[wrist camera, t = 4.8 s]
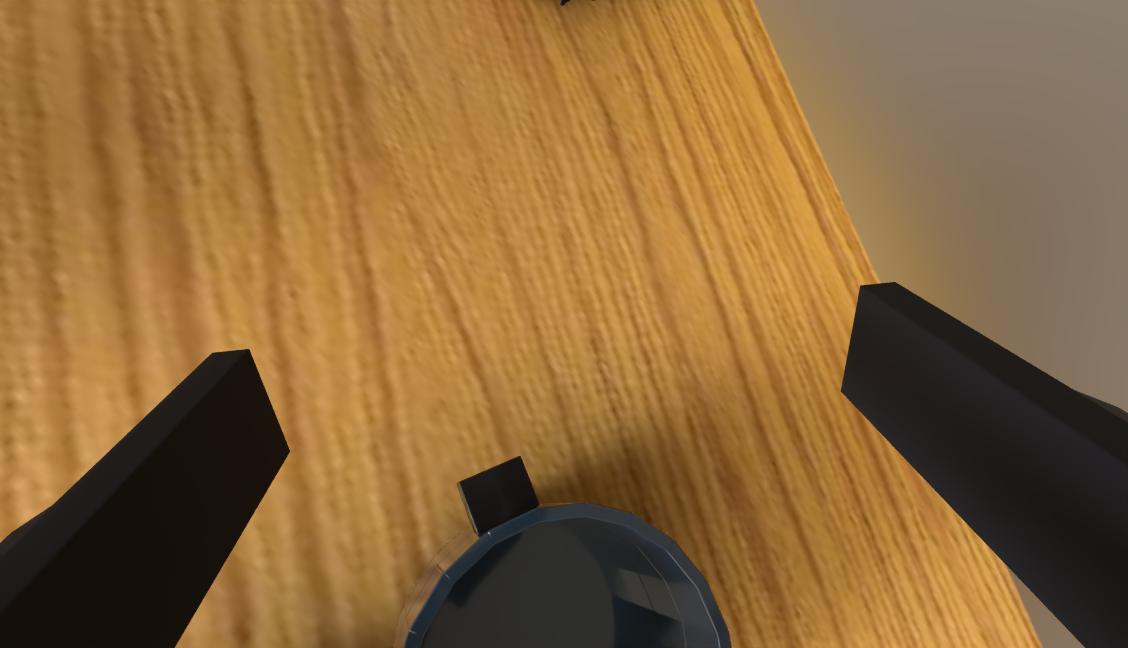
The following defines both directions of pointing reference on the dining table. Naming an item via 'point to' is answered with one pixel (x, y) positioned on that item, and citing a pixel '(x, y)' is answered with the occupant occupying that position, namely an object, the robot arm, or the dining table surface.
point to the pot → (562, 587)
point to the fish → (565, 0)
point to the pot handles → (497, 494)
